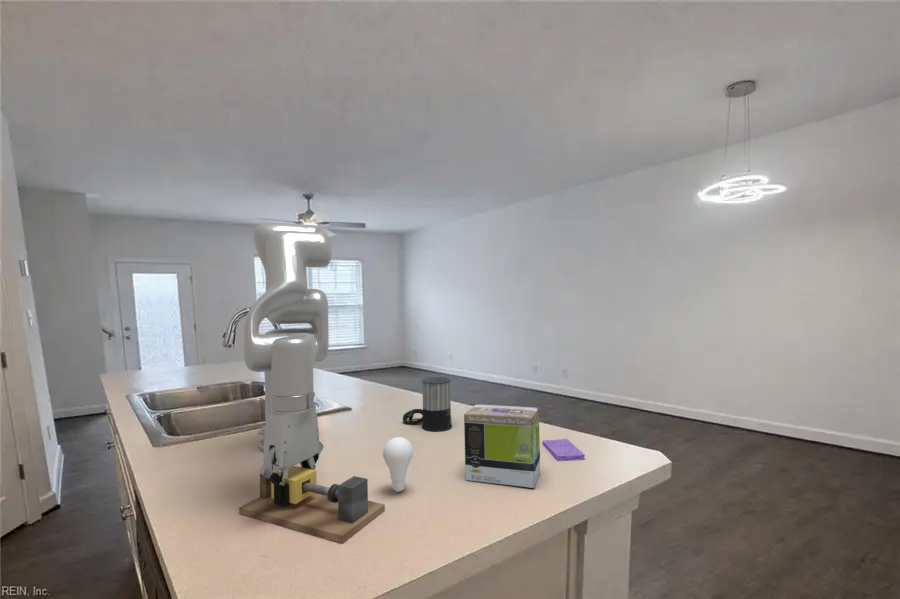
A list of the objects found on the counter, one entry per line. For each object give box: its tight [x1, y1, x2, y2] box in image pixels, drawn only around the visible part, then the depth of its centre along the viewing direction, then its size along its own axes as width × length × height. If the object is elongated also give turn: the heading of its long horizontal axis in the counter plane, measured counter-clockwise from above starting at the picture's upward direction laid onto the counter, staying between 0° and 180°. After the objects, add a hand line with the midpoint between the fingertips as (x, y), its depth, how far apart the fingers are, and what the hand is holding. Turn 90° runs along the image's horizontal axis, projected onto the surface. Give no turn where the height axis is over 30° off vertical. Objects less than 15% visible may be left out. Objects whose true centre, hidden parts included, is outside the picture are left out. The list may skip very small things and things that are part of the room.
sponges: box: [542, 438, 586, 462], centre depth 112 cm, size 7×13×2 cm, turn 5°
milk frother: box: [402, 376, 453, 432], centre depth 137 cm, size 14×16×15 cm
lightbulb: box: [382, 436, 414, 493], centre depth 90 cm, size 6×6×11 cm
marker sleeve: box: [271, 465, 317, 504], centre depth 83 cm, size 6×5×4 cm
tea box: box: [463, 403, 541, 489], centre depth 97 cm, size 15×10×15 cm, turn 71°
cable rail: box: [238, 465, 386, 544], centre depth 81 cm, size 24×12×7 cm, turn 65°
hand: (294, 496), depth 83 cm, fingers closed on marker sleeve, 5 cm apart
